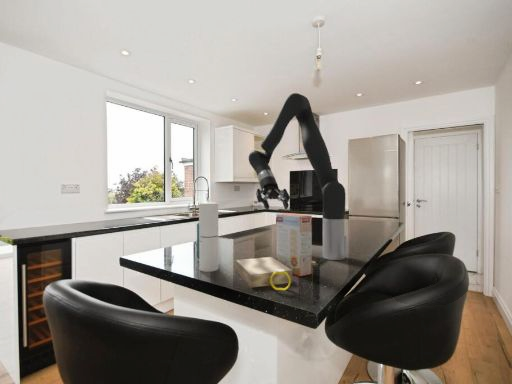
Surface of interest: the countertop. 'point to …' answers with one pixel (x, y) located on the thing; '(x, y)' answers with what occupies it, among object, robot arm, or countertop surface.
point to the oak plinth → (262, 271)
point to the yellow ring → (280, 271)
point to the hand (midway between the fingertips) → (277, 208)
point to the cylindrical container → (208, 237)
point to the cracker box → (295, 242)
